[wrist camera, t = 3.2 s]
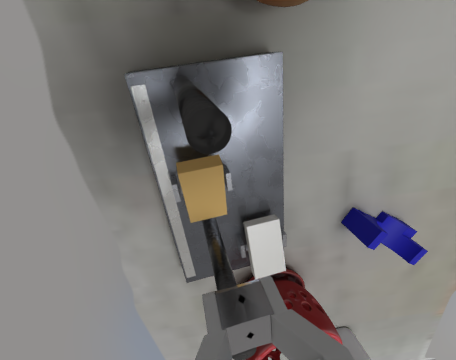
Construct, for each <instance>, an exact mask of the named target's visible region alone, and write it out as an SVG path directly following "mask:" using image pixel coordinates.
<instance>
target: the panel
mask: <svg viewBox="0 0 456 360" xmlns="http://www.w3.org/2000/svg"><path fill="white" fill-rule="evenodd" d="M124 75H125V78H126V81H127V85H128V88H129V91H130V95H131V98H132V101H133V105H134V108H135V111H136V115H137V118H138V121H139V125H140V128H141V131H142V135H143V138H144V142H145V145H146V148H147V152H148V155H149V158H150V162H151V165H152V168H153V172H154V175H155V178H156V182H157V185H158V188H159V192H160V195H161V198H162V202H163V205H164V208H165V212H166V215H167V218H168V222H169V225H170V228H171V232H172V235H173V238H174V242H175V245H176V248H177V252H178V255H179V258H180V262H181V265H182V268H183V272H184V275H185V278H186V282H187V283H188V282H192V281H195V280H199V279H203V278H206V277H210V276H214V277H215V282H216V286H217V291H218V290H222V289H226V288H229V287H233V286H237V285H236V282H235V278H234V275H233V272H232V270H236V269H239V268H243V267H247V266H250V259H249V253H248V251H246V248H245V245H246V244H247V241H246V235H245V230H244V224H243V222H245V221H249V220H253V219H257V218H261V217H265V216H269V215H273V214H274V215H276V216H277V217H278V218H279V220H280V228H281V235H282V243H283V251H284V247H286V233H285V232H284V198H283V52H269V53H262V54H255V55H248V56H241V57H233V58H226V59H219V60H212V61H205V62H198V63H191V64H184V65H177V66H169V67H162V68H155V69H148V70H141V71H134V72H128V73H126V74H124ZM218 154H219V156H220V159H221V161H222V164H223V172H224V183H225V194H226V205H227V215H222V216H218V217H214V218H210V219H206V220H201V221H197V222H193V223H191V222H190V218H189V214H188V211H187V207H186V203H185V199H184V196H183V194H182V193H181V188H180V186H181V184H180V181H179V177H178V172H177V166H176V163H178V162H183V161H188V160H193V159H198V158H203V157H208V156H213V155H218ZM255 352H256V347H255V348H252V349H249V350H246V351H243V352H241V353H238V354H235V355H232V358H233V359H234V360H245V359H248V358H250V357H251V356H253V355H254V354H255Z"/></svg>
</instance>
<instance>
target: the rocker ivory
mask: <svg viewBox="0 0 456 360" xmlns="http://www.w3.org/2000/svg"><path fill="white" fill-rule="evenodd" d="M243 224H244V230H245V235H246V241H247V244H246V245H245V248H246V251H248V253H249V259H250V265H251V271H252V273H253V276H254V278H255V279H259V278H262V277H266V276H269V275H273V274H276V273H280V272H283V271H286V266H285V258H284V251H283V243H282V235H281V228H280V220H279V218H278V217H277V216H276V215H274V214H273V215H269V216H265V217H261V218H257V219H253V220H249V221H245V222H243Z"/></svg>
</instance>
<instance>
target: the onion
mask: <svg viewBox="0 0 456 360" xmlns="http://www.w3.org/2000/svg"><path fill="white" fill-rule="evenodd" d="M257 1H259V2H261V3H264V4H267V5H271V6H277V7H290V6H296V5H299V4H302V3H304V2H306V1H308V0H257Z"/></svg>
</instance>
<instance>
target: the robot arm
mask: <svg viewBox="0 0 456 360" xmlns="http://www.w3.org/2000/svg"><path fill="white" fill-rule="evenodd" d="M214 292H215V293H214ZM214 292H210V293H207V294H203V295H202V299H203V305H204V312H205V318H206V325H207V332H208V335H205V336H204V338H203V340H202V343H201V346H200V348H199V351H198V353H197V356H196V359H195V360H232V355H235V354H238V353H241V352H243V351H246V350H249V349H252V348H255V347H259V346H262V345H265V344H269V343H273V345H274V346H275V347H276V348H277V349H278V350H280V351H281V352H282V353H283V354H284V355H285V356H286V357H287V358H288V359H289V360H354V358H353V357H352V355H351V353H350V352H349V350H348V349H347V348H346V347H345V346H343V345H342V344H341V343H339V342H338V341H336V340H335V339H333V338H332V337H331V336H329V335H328V334H326V333H325V332H323V331H322V330H320V329H319V328H318V327H316V326H315V325H313V324H312V323H310V322H309V321H308V320H306V319H305V318H303V317H302V316H300V315H299V314H298V313H296V312H295V311H293V310H292V309H289V310H288V309H287V307H286V305H285V303H284V301H283V299H282V297H281V295H280V293H279V291H278V289H277V287H276V285H275V283H274V281H273V279H272V277H271V276H267V277H263V278H260V279H255V280H252V281H249V282H245V283H242V284H239V285H237V286H233V287H229V288H226V289H222V290H218V291H214ZM216 301H217V302H216Z"/></svg>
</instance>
